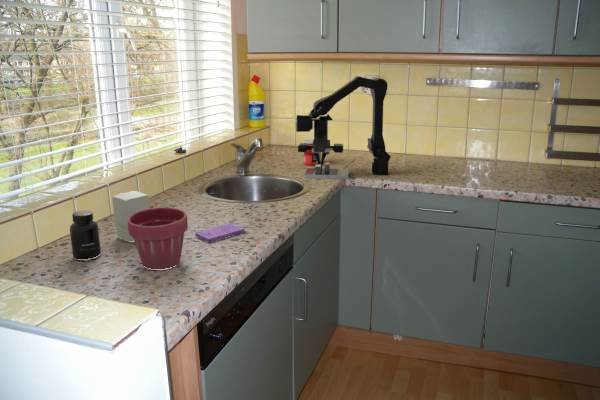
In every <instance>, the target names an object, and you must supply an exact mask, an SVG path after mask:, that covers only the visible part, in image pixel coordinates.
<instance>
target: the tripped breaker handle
mask: <svg viewBox="0 0 600 400" xmlns="http://www.w3.org/2000/svg"><path fill="white" fill-rule="evenodd" d="M324 169H325V172H329V171H330V169H331V162H330V161H324Z"/></svg>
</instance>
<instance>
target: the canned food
mask: <svg viewBox="0 0 600 400" xmlns="http://www.w3.org/2000/svg"><path fill="white" fill-rule="evenodd" d="M313 140H314V138H312V139H311V138H310V139H304V140H303V143H308V144H309V145H313ZM321 158H322V152H320V159H321ZM303 164H304V165H305V166H308V167H315V165H316V164H317V159H316V157H315V155H314V154H312V150H307V151H306V152H303Z"/></svg>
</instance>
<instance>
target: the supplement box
mask: <svg viewBox="0 0 600 400" xmlns="http://www.w3.org/2000/svg"><path fill="white" fill-rule="evenodd" d="M111 197H112V206H113V215H114V222H115V223H114V225H115V230H116V231H115V232H116V237H117V236H119V237H121V238H123V239H125V240H128V241H133V240H134V238H133V237H131V236H130V235H129V230H128V218H129V216H131V215H132V214H134V213H136V212H138V211H142V210H145V209H150V200H149V195H148V194H146V193H143V192H139V191H136V190H132V191H127V192H123V193H119V194H116V195H112V196H111Z"/></svg>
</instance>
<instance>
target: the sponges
mask: <svg viewBox="0 0 600 400" xmlns="http://www.w3.org/2000/svg"><path fill="white" fill-rule="evenodd" d="M242 232H243V233H244V232H245V228H244V227H241V226H237V225H235V224H233V223H226V224H223V225H222V224H221V225H220V226H215V227H211V228H208V229H204V230H199V231H195V234H194V235H195V237H196V236H197V237H199V238H201V239H203V240H205V241H207V242H206V243H208V242H211V243H213V242H212V241H214V242H217V241H220V240H219V239H221V240H223V239H222V238H224V239H226V238H225V237H228V236H231V237H233V236H232V235H234V236H236V235H235V234H238V235H240V234H239V233H241V234H243V233H242ZM197 237H196V238H197ZM199 238H198V239H199ZM228 238H229V237H228ZM201 239H200V240H201ZM203 240H202V241H203ZM216 240H217V241H216ZM205 241H204V242H205Z"/></svg>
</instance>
